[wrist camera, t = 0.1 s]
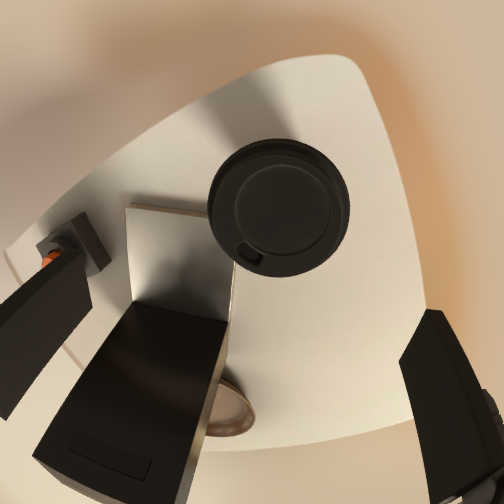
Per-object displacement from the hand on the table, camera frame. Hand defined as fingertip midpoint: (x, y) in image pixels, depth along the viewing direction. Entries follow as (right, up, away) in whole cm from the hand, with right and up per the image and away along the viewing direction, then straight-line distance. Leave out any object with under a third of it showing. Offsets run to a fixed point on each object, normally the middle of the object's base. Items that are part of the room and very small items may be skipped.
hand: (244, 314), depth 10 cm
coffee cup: (+4, +11, +21) cm, 24 cm away
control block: (-26, +3, +29) cm, 39 cm away
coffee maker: (-9, -3, +29) cm, 31 cm away
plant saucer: (-9, -24, +40) cm, 48 cm away
